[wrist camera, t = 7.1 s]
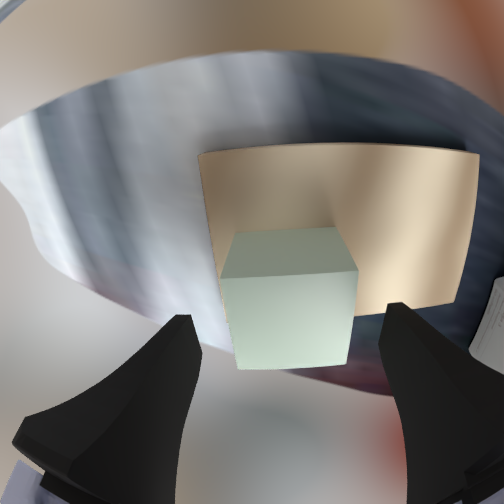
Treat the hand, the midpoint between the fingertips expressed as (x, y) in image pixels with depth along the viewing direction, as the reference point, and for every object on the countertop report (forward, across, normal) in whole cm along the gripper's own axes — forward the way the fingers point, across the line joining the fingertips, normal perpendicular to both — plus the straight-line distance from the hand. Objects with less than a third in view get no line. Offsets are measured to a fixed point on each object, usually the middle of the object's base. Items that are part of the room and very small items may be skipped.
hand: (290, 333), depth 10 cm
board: (+5, -4, -2) cm, 7 cm away
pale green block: (+4, 0, 0) cm, 4 cm away
